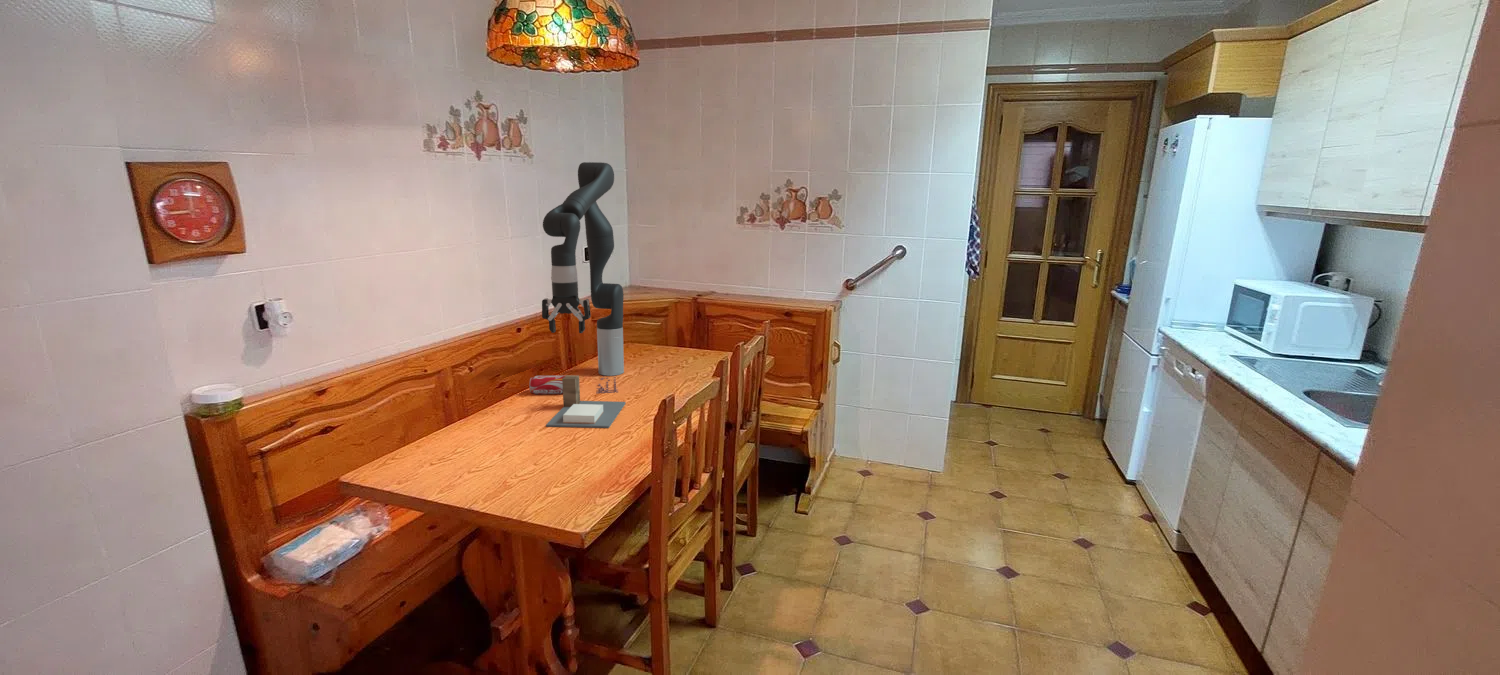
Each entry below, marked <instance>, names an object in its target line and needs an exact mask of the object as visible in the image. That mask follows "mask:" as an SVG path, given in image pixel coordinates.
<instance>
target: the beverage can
mask: <svg viewBox="0 0 1500 675" xmlns="http://www.w3.org/2000/svg"><path fill="white" fill-rule="evenodd" d="M565 376H566V375H535V376H533V377H530V378H529V387H528V388H529V392H530V393H532V394H534V395H563V383H562V379H563V378H564V377H565Z"/></svg>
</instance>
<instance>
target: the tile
mask: <svg viewBox="0 0 1500 675" xmlns="http://www.w3.org/2000/svg"><path fill="white" fill-rule="evenodd" d="M602 413H603V405H596V404H573V405H572V406H571V407H570V408H569V409H568V410H567V412H566V413H565V414H564V415H563V422H564V423H586V424H595V423H596V421H597V420H598V419H599V417H600V416H601V415H602Z"/></svg>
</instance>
